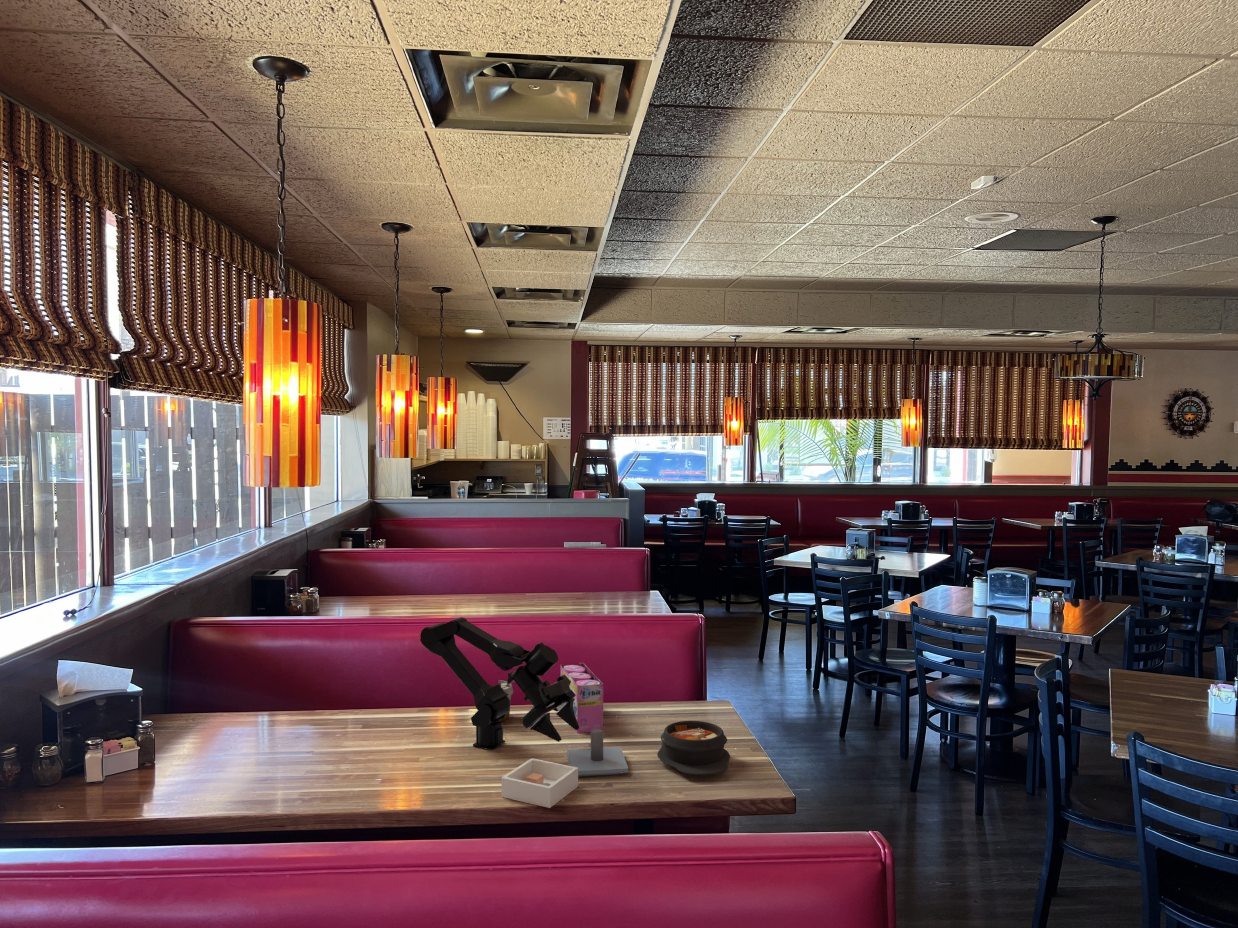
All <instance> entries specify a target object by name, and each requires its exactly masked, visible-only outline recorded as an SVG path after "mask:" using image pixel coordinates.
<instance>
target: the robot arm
mask: <svg viewBox="0 0 1238 928" xmlns="http://www.w3.org/2000/svg"><path fill="white" fill-rule="evenodd" d="M455 637H458V638H460V639H462V640H463V641H465V642H466V643H468V644H470V645H472V646H474V647H475V648H477V649H478V650H479V651H481V652H483V653H485V654H486V655H488V656H489V658H490V661H491V662H492V663H493V664H494V665H495V666H496V667H498V668H499V669H500V670H502V671H505V672H507V671H510V670H512V669H514V668H516V669H515V670H514V671H510V672H508V674H507V684H510V683H511V684H512V683H514V682H515V684H516V685H517V687H519V689H520V690H521V691H522V693H523V694H524V695H525V696H524V697H523V700H524V701H525V702H527V701H529V702H530V703H531V705H532V708H531V709H530V710H529V711H528V712H527V713H526V714H525V715H524V716H523V717H521V724H522V725H523V727H524V728H525V730H528V729H530V731H535V732H537V733H540V734H542V735H545V736H546V737H548V738H550V739H551V740H554V741H556V742H558V743H559V742H561V741H562V736H561V735H560V733H559V732H558V730H557V728H556V727H555V726H554V725H553V723H552V721H551V711H554V712H556V715H557V716H558V718H560V719H561V720H563V721H564V722H565V723H566V724H567V725H568V726H569V727H571V728H572V729H573V730H574V731H575V730H578V729H579V725H578V722H577V719H576V716H575V714H574V710H573V702H574V701H575V698H574V697H575V696H576V695H575V693H574V692H573V691H572V690H571V689H570V687H569V686H570V684H571V681H570V680H569V679H568V677H567V676H566V675H562V676H561V675H560V676H557V678H556V681H555V682H552V683H550V682H549V681H548V680H544V681H543V679H542V678H541V677H543V676H544V675H546V674H547V673H548V672H549V671H550V670H551V669H552V667H553V666H555V665H556V664H557V663H558V662H559V656H558V653H557V652H556V651H555V649H553V648H552V647H550V646H549V645H545V643H543V642H539V643H537V644H536V645H535V646H534V648H533V649H532V650H529V649H526V648H524V647H523V646H521V645H520V644H518V643H515V642H512V641H509V640H502V639H499V638H497V637H495V636H493V635H492V634H490V633H489V632H487V631H485V630H484V629H482V628H480V627H478V626H476V625H475V624H473V623H472V622H470V621H468V620H467V618H466V617H463V616H462V617H461V616H459V617H458V618H454V619H451V620H450V621H449V622H448V621H447V622H446V623H445V622H439V623H435V624H432V625H429V626H426V627H424V628H423V629H421V632H420V637H419V638H420V639H419V641H420V643H421V645H422V646H423V647H425V648H426V650H427V651H429V652H430V653H431V654H434V655H436V656H438V657H440V658H442V659H443V661H444V662H445V663H446V665H447V666H448V667H449V668H450V670H452V672H453V673H454V674H455V676H457V678H458V679H459V680H460V682H461V683H462V684H463V685H464V686H465V688H466V689H467V690H468V691H469V692H470V694H471V695H472V696H473V701H474V704H475V705H474V706H475V708H476V710H477V711H476V712H475V713H474V714H472V716H471V717H470V720H471V723H472V726H473V727H475V730H476V731H475V733H476V734H475V736H476V737H475V738H476V739H475V741H476V742H474V743H472V747H475V748H481V749H485V750H488V751H489V750H490V751H493V750H495V749H497V748H499V747H500V746H501V745H503V744H504V743H506V740H505V739H504V728H503V727H502V726H503V723H502V722H500V720H502V719H504V718H505V716H506V713H507V712H508V711H509V709H510V710H511V701H510V700H509V698H508V697H507V695H508V694H507V693H505V692H504V691H503V689H502V688H501V686H500V685H499V683H497V684H495V685H491V684H489V683H488V682H487V681H486V679H484V677H483V675H481V674H480V672H478V670H477V669H476V668H475V666H474V665H473V664H472V663H471V662H470V661H469V659H468V658H467V657H466V655H465V654H463V652H462V651H461V650H460V649H459V648H458V646H457V643H456V638H455ZM523 664H524V665H523ZM517 667H518V668H517Z"/></svg>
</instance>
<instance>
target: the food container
mask: <svg viewBox="0 0 1238 928" xmlns="http://www.w3.org/2000/svg"><path fill="white" fill-rule="evenodd" d="M498 684H499V685H500V686H501V688H502V689H503V691H504V692H505V693H507V694H508V695H507V697H508V698H509V700H510V702H511V699H512V698H511V697H512V695H513V693H514V690H513V689H514V688H513V685H512V683H510V684H507V681H506V680H500V679H499V680H498ZM510 712H511V708H510V709H509V711H508V712H507V713H506V716H505V718H504V719H502V720H500V722H502V724H505V723H507V722H509V721H510V714H511V713H510Z"/></svg>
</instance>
